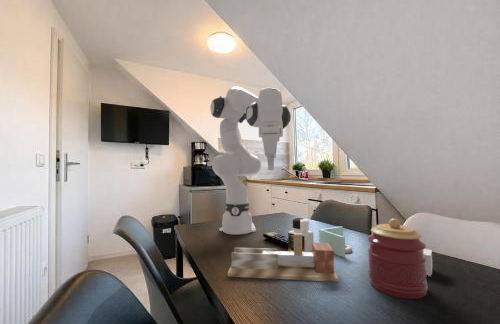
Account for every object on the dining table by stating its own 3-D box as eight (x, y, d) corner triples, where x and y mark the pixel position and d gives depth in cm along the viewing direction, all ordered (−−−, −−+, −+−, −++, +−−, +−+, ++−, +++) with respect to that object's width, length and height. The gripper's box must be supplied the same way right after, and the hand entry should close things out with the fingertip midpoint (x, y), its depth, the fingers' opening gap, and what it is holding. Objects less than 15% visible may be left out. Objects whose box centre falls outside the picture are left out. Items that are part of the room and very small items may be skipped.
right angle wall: (343, 259, 80) (342, 237, 80) (319, 248, 90) (318, 229, 91) (366, 253, 85) (366, 233, 85) (341, 244, 96) (340, 226, 96)
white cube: (431, 276, 65) (430, 255, 65) (406, 270, 69) (405, 250, 69) (432, 269, 70) (431, 249, 70) (408, 264, 74) (408, 245, 74)
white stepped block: (262, 264, 69) (261, 234, 70) (262, 260, 72) (262, 231, 73) (322, 267, 67) (322, 235, 68) (320, 262, 70) (320, 233, 71)
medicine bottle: (287, 250, 87) (287, 219, 87) (297, 246, 92) (297, 216, 93) (304, 255, 82) (304, 221, 82) (314, 250, 87) (313, 218, 88)
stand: (227, 276, 66) (227, 250, 66) (235, 260, 78) (234, 238, 78) (338, 281, 62) (337, 254, 63) (328, 263, 74) (327, 240, 75)
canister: (360, 274, 66) (358, 214, 67) (405, 275, 66) (403, 214, 67) (385, 300, 53) (383, 224, 54) (441, 300, 53) (438, 224, 54)
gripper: (263, 136, 94) (263, 169, 93) (260, 127, 73) (260, 170, 73) (279, 136, 93) (279, 169, 92) (279, 126, 73) (280, 169, 72)
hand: (271, 169), depth 82 cm, fingers open, 8 cm apart
